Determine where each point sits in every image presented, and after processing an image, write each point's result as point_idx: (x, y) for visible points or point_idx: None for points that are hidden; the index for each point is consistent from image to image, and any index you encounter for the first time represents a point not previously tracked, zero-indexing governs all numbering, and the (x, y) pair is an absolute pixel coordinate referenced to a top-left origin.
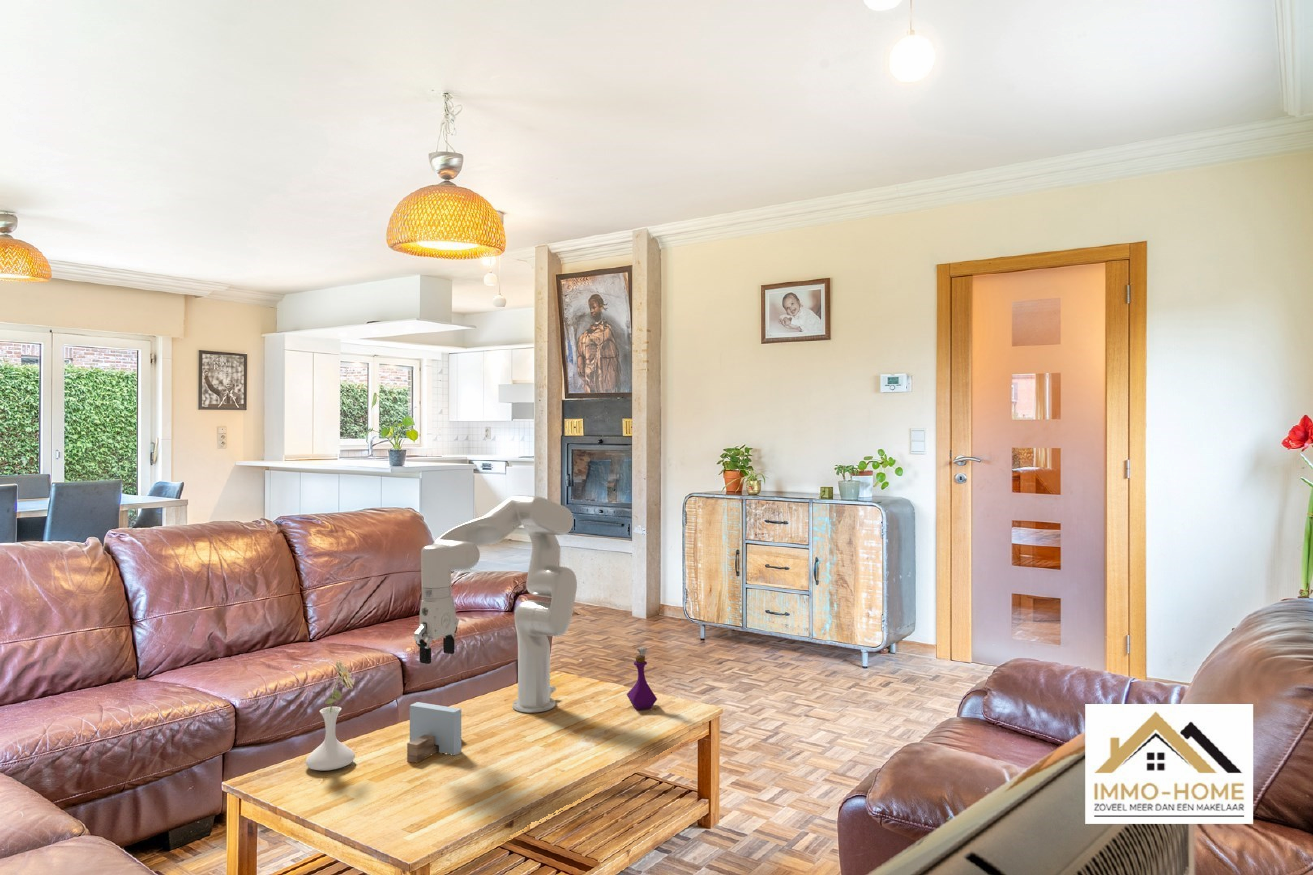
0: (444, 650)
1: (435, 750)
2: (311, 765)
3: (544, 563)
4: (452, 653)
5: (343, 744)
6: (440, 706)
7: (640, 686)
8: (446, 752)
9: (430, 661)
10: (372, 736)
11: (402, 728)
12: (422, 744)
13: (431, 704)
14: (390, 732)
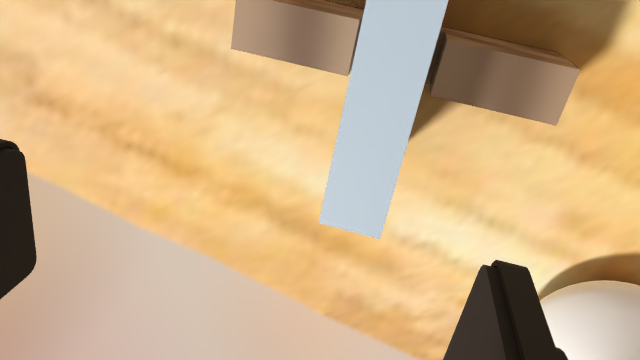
0: (14, 271)
1: None
2: None
3: None
4: (18, 150)
5: (587, 351)
6: (368, 63)
7: None
8: None
9: (522, 275)
10: (318, 306)
11: (227, 247)
12: (535, 57)
13: (343, 132)
14: (271, 269)
